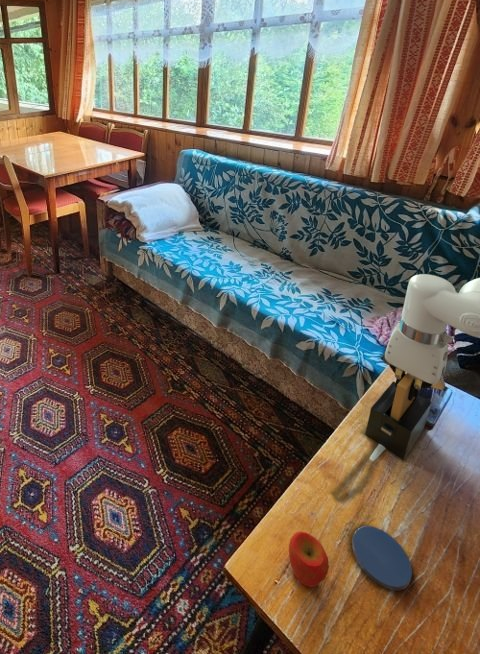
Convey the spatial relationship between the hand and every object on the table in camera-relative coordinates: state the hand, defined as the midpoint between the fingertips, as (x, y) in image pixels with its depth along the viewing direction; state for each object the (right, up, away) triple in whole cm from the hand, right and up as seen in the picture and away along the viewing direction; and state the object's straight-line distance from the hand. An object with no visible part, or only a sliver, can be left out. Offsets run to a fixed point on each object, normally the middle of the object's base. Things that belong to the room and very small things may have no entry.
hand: (406, 393), depth 86 cm
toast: (0, -5, +2) cm, 5 cm away
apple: (-33, -23, -19) cm, 45 cm away
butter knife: (-9, -15, -2) cm, 18 cm away
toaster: (+1, -12, +5) cm, 13 cm away
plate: (-19, -21, -18) cm, 33 cm away
